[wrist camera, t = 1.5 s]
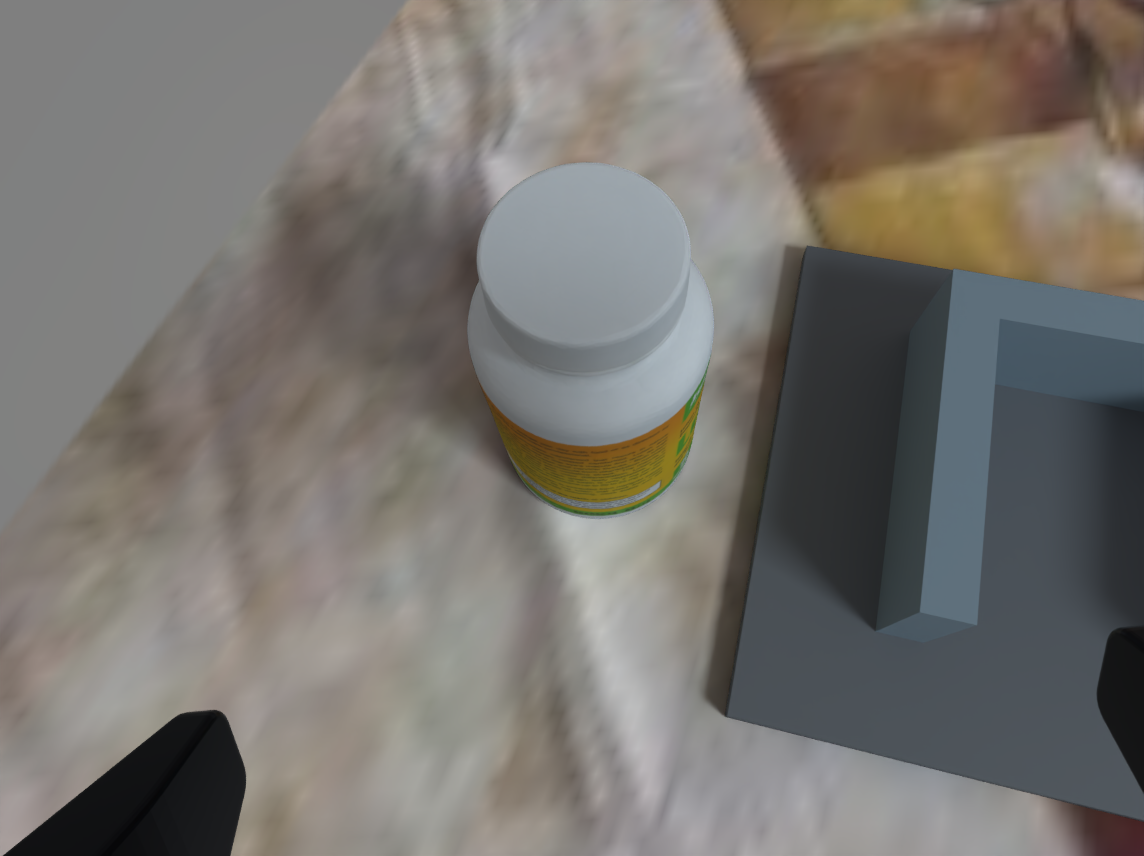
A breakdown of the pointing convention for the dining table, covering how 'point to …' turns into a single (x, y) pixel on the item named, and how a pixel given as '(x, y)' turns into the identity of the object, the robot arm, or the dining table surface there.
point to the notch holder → (950, 525)
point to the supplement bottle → (591, 336)
